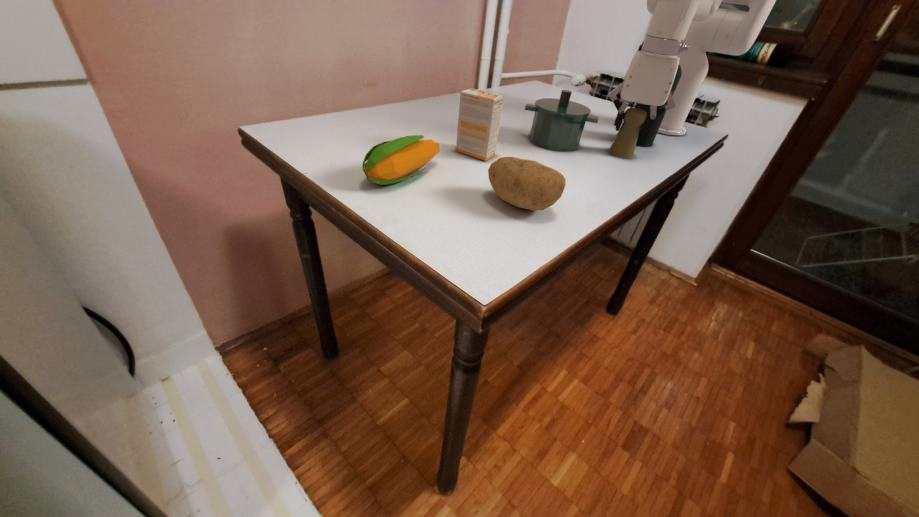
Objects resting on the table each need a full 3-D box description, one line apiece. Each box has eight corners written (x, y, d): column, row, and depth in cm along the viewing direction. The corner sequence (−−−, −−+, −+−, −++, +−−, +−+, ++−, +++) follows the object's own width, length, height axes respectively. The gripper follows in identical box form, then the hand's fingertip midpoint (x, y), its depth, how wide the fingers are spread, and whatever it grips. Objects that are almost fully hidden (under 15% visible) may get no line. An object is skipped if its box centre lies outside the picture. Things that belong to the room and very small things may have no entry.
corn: (349, 142, 62) (425, 119, 75) (351, 182, 66) (421, 154, 80) (381, 159, 59) (453, 131, 72) (380, 199, 64) (448, 166, 77)
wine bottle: (620, 132, 107) (665, 10, 89) (655, 142, 103) (710, 16, 84) (611, 137, 102) (656, 9, 84) (647, 149, 98) (704, 16, 79)
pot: (524, 128, 102) (530, 96, 97) (589, 141, 98) (599, 108, 93) (515, 142, 92) (522, 107, 87) (587, 157, 89) (598, 122, 83)
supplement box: (495, 155, 84) (505, 95, 76) (485, 161, 80) (494, 99, 72) (465, 145, 87) (472, 87, 79) (454, 151, 84) (460, 90, 76)
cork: (635, 160, 90) (653, 114, 83) (610, 156, 91) (626, 110, 84) (630, 151, 95) (648, 107, 88) (607, 147, 95) (622, 103, 89)
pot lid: (538, 99, 97) (542, 81, 94) (590, 109, 94) (596, 90, 91) (530, 112, 86) (534, 91, 84) (588, 123, 84) (594, 102, 81)
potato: (499, 183, 73) (506, 144, 68) (565, 208, 67) (578, 167, 62) (473, 200, 66) (478, 158, 61) (543, 229, 60) (555, 186, 55)
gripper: (700, 51, 79) (664, 133, 91) (619, 39, 83) (594, 120, 94) (707, 55, 74) (667, 143, 85) (620, 43, 77) (593, 129, 88)
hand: (629, 130), depth 89 cm, fingers closed on cork, 5 cm apart
